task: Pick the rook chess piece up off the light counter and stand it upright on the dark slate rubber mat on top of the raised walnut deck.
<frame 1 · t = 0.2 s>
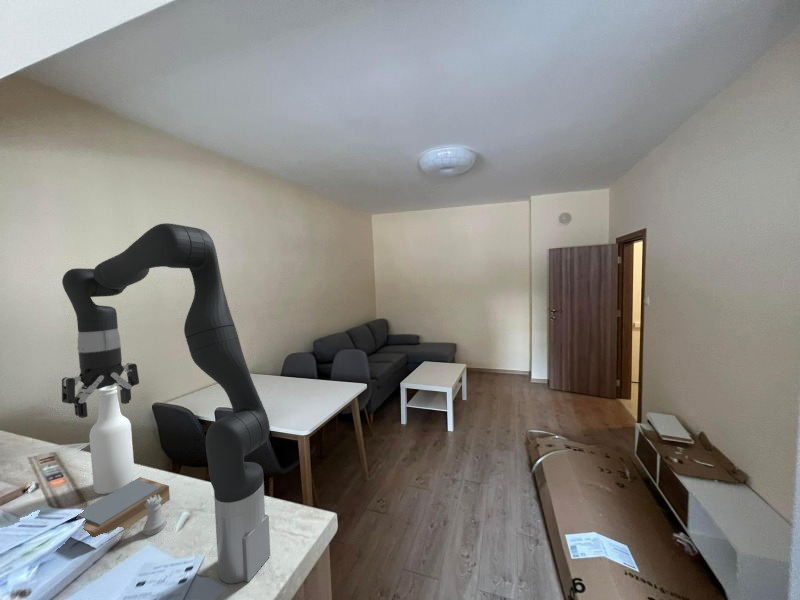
hand: (105, 409, 75), 28 cm above the kitchen counter, tool pointing down, fingers open, 8 cm apart
walnut deck: (121, 515, 76), on the kitchen counter
alcohol: (115, 485, 88), on the kitchen counter
rook chess piece: (155, 529, 72), on the kitchen counter
slate mat: (120, 501, 76), resting on walnut deck
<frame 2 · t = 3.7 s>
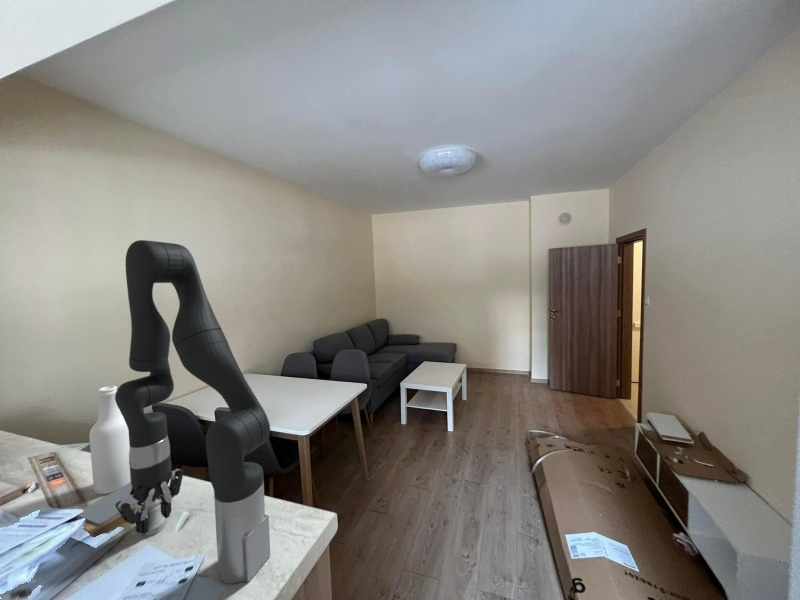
hand: (155, 523, 72), 1 cm above the kitchen counter, tool pointing down, fingers closed on rook chess piece, 4 cm apart
rook chess piece: (155, 529, 72), on the kitchen counter, touching gripper
everything else where it was.
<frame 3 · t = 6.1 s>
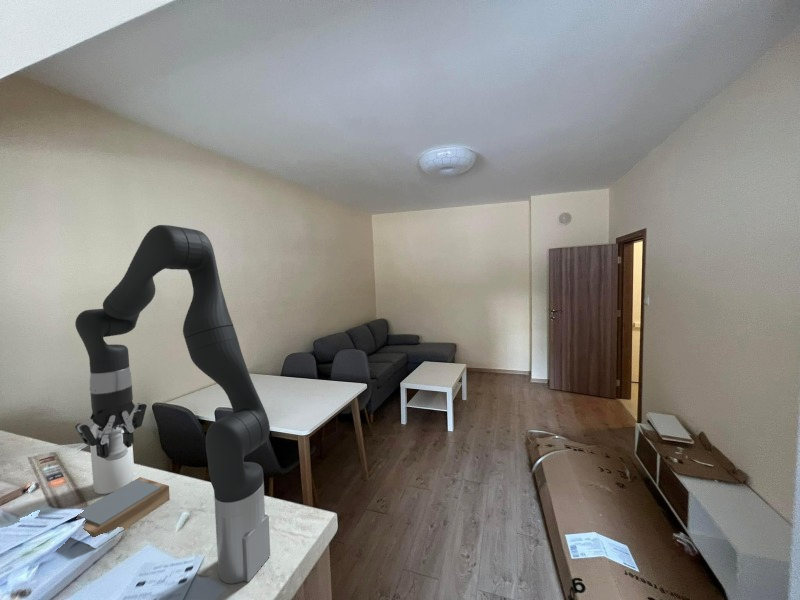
hand: (116, 451, 75), 18 cm above the kitchen counter, tool pointing down, fingers closed on rook chess piece, 4 cm apart
rook chess piece: (116, 457, 75), point 16 cm above the kitchen counter, touching gripper
everything else where it was.
when the fingers open (7 cm above the kitchen counter, at t = 8.5 s): rook chess piece stays where it is, resting on slate mat.
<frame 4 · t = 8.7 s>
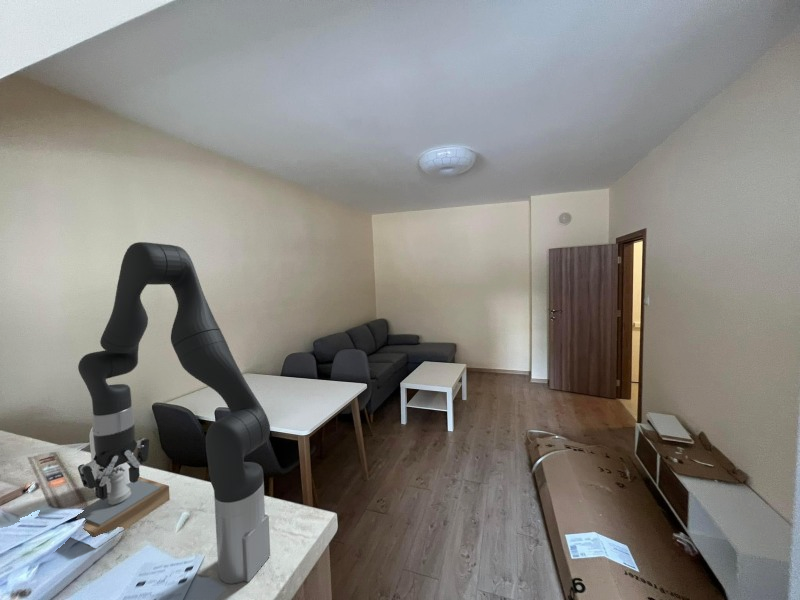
hand: (119, 489, 76), 7 cm above the kitchen counter, tool pointing down, fingers open, 6 cm apart
rook chess piece: (120, 499, 76), point 4 cm above the kitchen counter, touching slate mat
everything else where it was.
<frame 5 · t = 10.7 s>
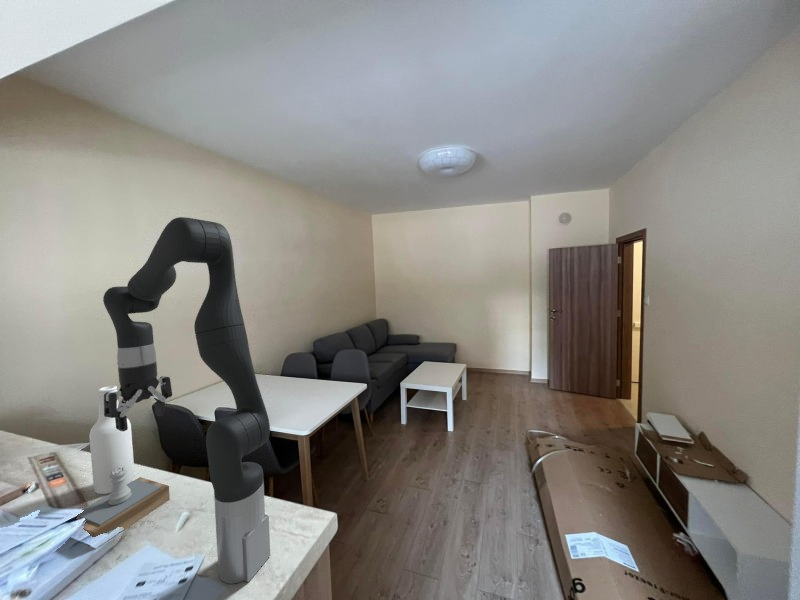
hand: (142, 422, 78), 24 cm above the kitchen counter, tool pointing down, fingers open, 8 cm apart
nothing on the kitchen counter moved.
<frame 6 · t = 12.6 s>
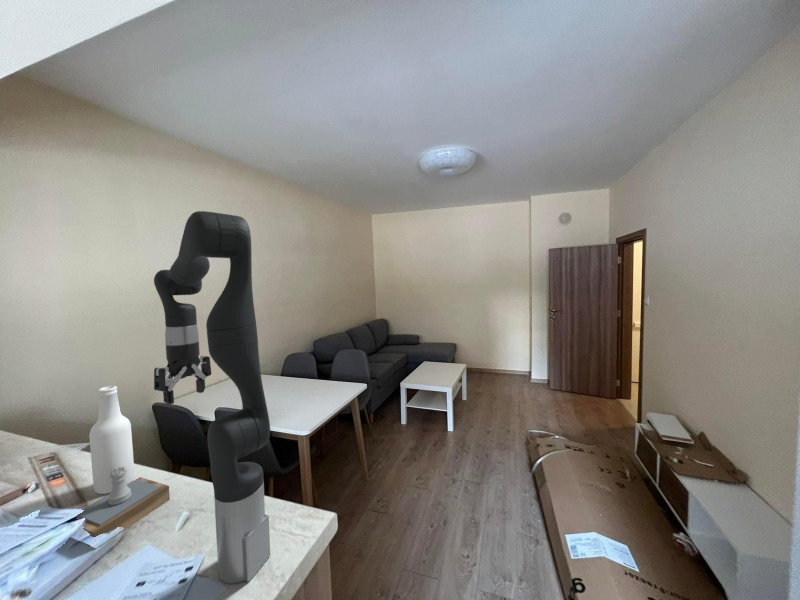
hand: (185, 397, 83), 28 cm above the kitchen counter, tool pointing down, fingers open, 8 cm apart
nothing on the kitchen counter moved.
at the end: rook chess piece inside the target area (0.1 cm from its centre), point 4.3 cm above the kitchen counter; rook chess piece tilted 0°; the gripper is holding nothing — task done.
